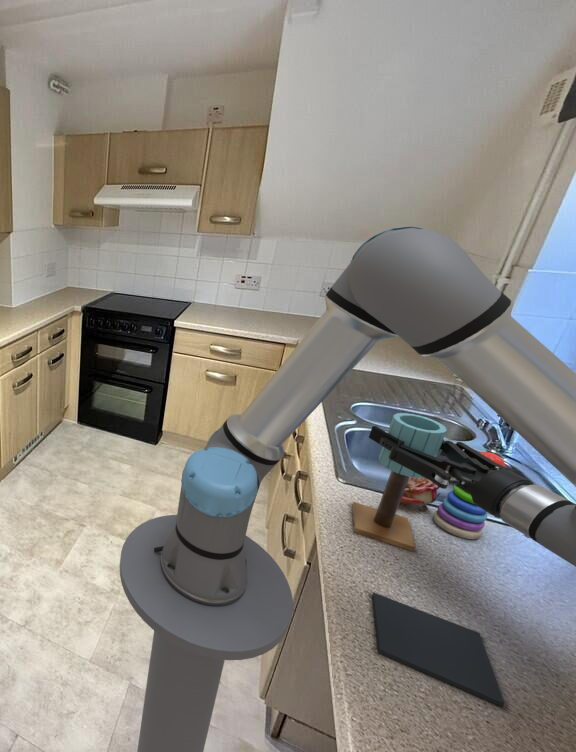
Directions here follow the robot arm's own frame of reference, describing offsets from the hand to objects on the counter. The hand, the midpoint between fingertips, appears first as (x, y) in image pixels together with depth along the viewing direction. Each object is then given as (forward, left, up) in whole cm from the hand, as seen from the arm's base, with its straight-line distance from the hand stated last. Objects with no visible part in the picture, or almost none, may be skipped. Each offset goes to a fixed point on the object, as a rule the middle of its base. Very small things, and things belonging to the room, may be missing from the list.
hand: (390, 430), depth 86 cm
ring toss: (+3, -4, -21) cm, 22 cm away
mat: (+7, -32, -21) cm, 39 cm away
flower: (+9, +9, -21) cm, 25 cm away
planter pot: (+3, -4, -6) cm, 7 cm away
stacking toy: (+17, +5, -21) cm, 28 cm away
